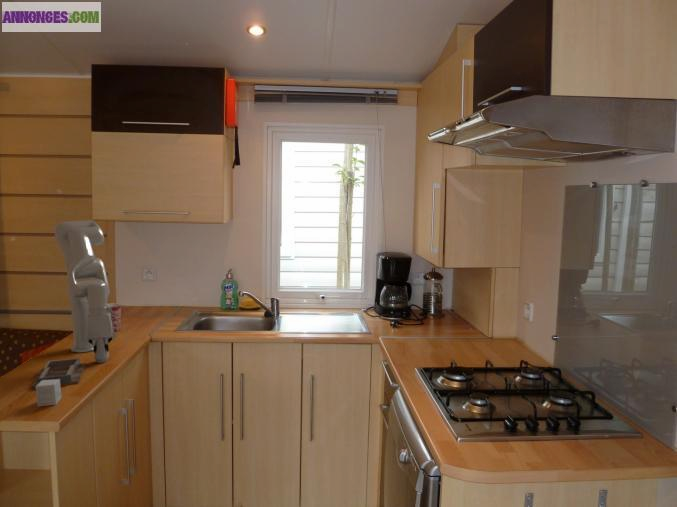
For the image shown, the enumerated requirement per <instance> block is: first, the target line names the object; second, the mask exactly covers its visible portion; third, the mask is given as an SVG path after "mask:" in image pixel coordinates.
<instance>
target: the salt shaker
mask: <svg viewBox="0 0 677 507" xmlns="http://www.w3.org/2000/svg"><path fill="white" fill-rule="evenodd" d="M104 345H105V339H104V338H102V337H101V336H99V337H98V338H97V340H96V346H97V351H96V353H94V359H95V362H96V363H97V364H103V363H106V362H108V360H109V357H110V353H109V351H107V354H106V350H107V349H106V350H105V346H104Z"/></svg>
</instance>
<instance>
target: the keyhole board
mask: <svg viewBox="0 0 677 507" xmlns="http://www.w3.org/2000/svg"><path fill="white" fill-rule="evenodd" d="M80 363H81V364H80V366H79V368H78V370H77V371H75V374H74V376H73V378H72V380H71V382H62V383H60V386H64V385H65V386H66V385H67V386H68V385H73V384H74V385H75V383H76V384H79V383H80V382H81V379H80V378H82V376H83V374H84V371H85V368H86V366H87V362H83V363H82V362H80ZM70 366H71V365H69V366H60V367H51V368H50V375H49V377H51V376H60V375H66V374H67V372H68V370H69V368H70ZM43 371H44V367H42V369H41V370H40V372H39V373H38V375H37V376H36V378H35V380H34V381H33V383H32V384H31V388H30V389H33V390H34V389H36V386H37V385H38V384H39V377H40V376H41V374H42V372H43ZM82 373H83V374H82Z"/></svg>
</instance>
